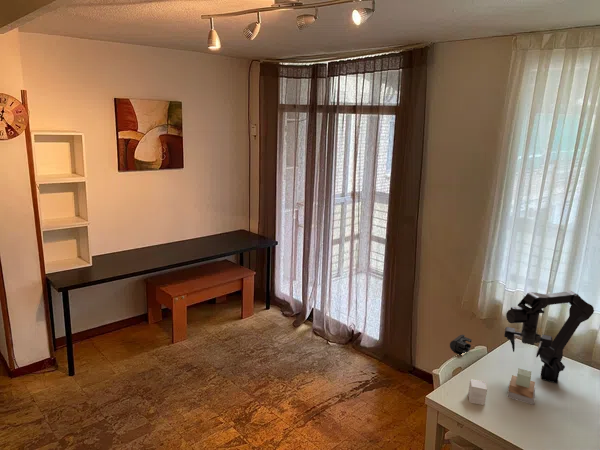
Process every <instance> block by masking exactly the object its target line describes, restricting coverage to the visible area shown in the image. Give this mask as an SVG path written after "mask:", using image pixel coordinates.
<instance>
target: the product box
mask: <svg viewBox="0 0 600 450" xmlns="http://www.w3.org/2000/svg"><path fill="white" fill-rule="evenodd" d="M487 392H488V388H487V383H486V381H484V380H478V379H472V378H470V380H469V386H468V392H467V396H468V402H469V403H472V404H477V405H483V406H485V405H486V398H487Z"/></svg>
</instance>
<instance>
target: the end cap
mask: <svg viewBox="0 0 600 450" xmlns="http://www.w3.org/2000/svg"><path fill="white" fill-rule="evenodd" d="M472 340H473V339H471V338H469V337H466V336H465V334H460V335H458V336H457V337H455V338H454V339H453V340H451V341H450V342H449V348H450V350H451V351H452V352H453V354H456V355H459V356H461V355H460V354H462V353H465V352H467V353H468V352H470V350H471V348H472V344H471V343H472ZM467 342H468V343H467Z"/></svg>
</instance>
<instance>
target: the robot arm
mask: <svg viewBox="0 0 600 450" xmlns="http://www.w3.org/2000/svg"><path fill="white" fill-rule="evenodd" d="M560 304H561V305H562V304H569V305H570V307H569V309H568V310H569V313H568V314H569V316H568V318H567V319H566V321H565V322H564V323H563V326H561V328H560V329H559V331H558V333H557V334H556V336H555V337H554V339H553V337H552V335H547V334H539V333H537V329H538V326H539V325H538V324H539V319H540V314H545V311H544V310H543V309H546V308H547V307H548V306H550V305H551V306H552V305H560ZM594 312H595V310H594V306H593V304H591V303H588V302H587V301H586V300H584V298H582V297H581V296H580V295H579V294H578V293H576V292H574V291H572V290H567V291H562V292H554V293H553V292H552V293H551V292H550V293H544V294H543V293H539V292H527V293H526V295H525V296H523V298H522V299H521V300H520V301H519V303H518V304H517V306H516V307H513V306H512V307H511V306H510V309H508V310H507V311H506V314H505V316H506V318H505V319H506V320H507V322H508V323H510V324H521V325H522V326H521V331H520V332H519V331H516V328H514V327H509V326H506V327H505V328H504V335H503V336H504V338H507V340H509V342H510V344H511V347H512V352H513V353H515V349H516V348H515V347H516V345H515V344H516V341H515V340H516V339H515V337H519V338H521V343H523V344H525V345H530V346H534V345H535V344H538V347H537V350H536V354H535V355H536V356H535V357H536V358H538V357H539V358H540V361H541V362H542V363H543V365H542V366H541V369H540V370H541V371H540V376H541V380H544V381H547V382H551V383H554V384H558V383H559V377H560V373H561V372H563V371H564V370H565V367H566V366H565V364H564V363H563V362H562V359H563V358H564V357H563V355H564V349H565V347H566V345H567V344H568V343H569V341H570V340H571V338H572V337H573V335H574V334H575V332H577V331H576V330H577V329H578V328H579V326H580V324H581V323H583V322H585V321H588V320H589V319H590V317H591V316H592V315H594Z"/></svg>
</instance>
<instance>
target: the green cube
mask: <svg viewBox="0 0 600 450" xmlns="http://www.w3.org/2000/svg"><path fill="white" fill-rule="evenodd" d="M516 376H517V380H516V384H517V385H520V386H523V387H527V388H529V385H530V381H532V371H531V370H528V369H526V370H525V369H523V368H517V375H516Z"/></svg>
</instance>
